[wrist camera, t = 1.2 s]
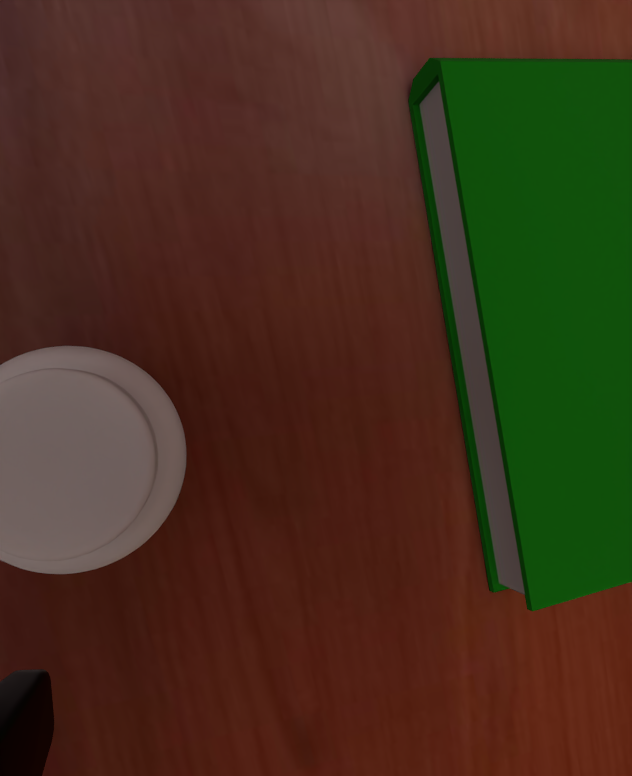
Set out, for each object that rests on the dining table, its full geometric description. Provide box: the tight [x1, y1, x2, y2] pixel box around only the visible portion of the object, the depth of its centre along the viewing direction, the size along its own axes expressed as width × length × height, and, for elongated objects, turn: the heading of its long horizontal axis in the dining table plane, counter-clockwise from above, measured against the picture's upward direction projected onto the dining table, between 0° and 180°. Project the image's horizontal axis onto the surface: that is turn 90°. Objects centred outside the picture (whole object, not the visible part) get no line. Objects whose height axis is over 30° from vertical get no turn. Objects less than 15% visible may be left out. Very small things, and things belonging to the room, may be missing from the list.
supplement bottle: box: [0, 346, 186, 574], centre depth 17 cm, size 6×6×10 cm
